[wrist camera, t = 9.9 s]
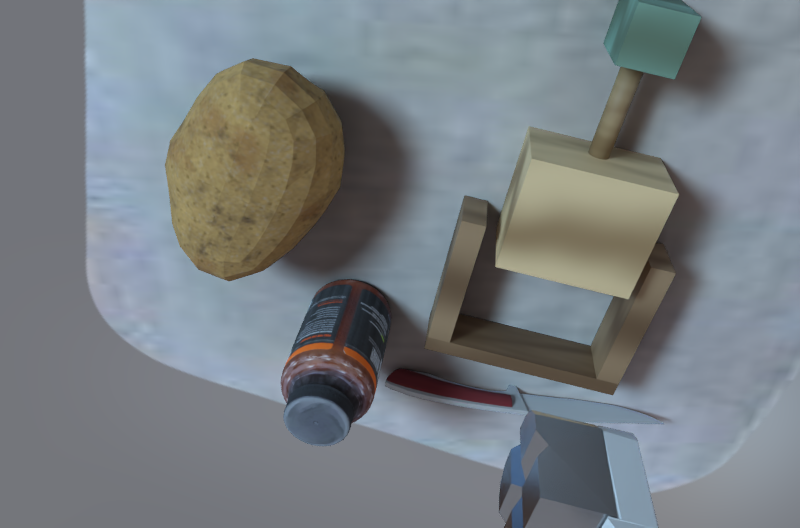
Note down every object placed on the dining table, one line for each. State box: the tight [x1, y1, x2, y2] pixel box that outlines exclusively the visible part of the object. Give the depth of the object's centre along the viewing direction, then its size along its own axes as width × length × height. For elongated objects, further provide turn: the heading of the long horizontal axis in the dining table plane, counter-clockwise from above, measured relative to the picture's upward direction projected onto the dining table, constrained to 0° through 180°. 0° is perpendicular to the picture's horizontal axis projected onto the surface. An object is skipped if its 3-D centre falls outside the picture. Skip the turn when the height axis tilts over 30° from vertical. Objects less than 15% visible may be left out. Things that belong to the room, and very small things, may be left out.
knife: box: [385, 369, 664, 424], centre depth 49 cm, size 20×1×3 cm, turn 86°
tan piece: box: [424, 196, 676, 395], centre depth 43 cm, size 10×13×4 cm
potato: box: [165, 58, 345, 281], centre depth 39 cm, size 10×14×8 cm
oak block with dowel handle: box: [495, 0, 701, 299], centre depth 37 cm, size 16×8×5 cm, turn 169°
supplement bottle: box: [281, 279, 391, 446], centre depth 43 cm, size 6×6×11 cm
